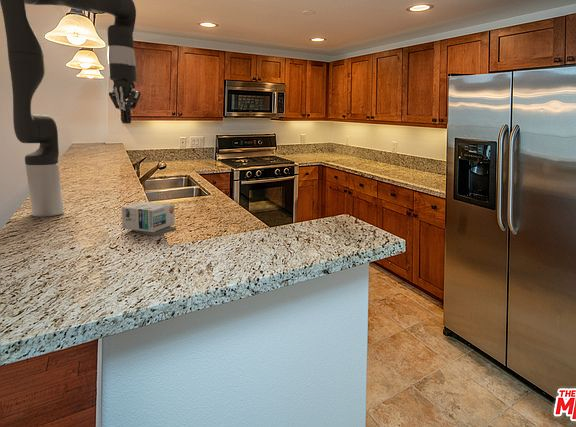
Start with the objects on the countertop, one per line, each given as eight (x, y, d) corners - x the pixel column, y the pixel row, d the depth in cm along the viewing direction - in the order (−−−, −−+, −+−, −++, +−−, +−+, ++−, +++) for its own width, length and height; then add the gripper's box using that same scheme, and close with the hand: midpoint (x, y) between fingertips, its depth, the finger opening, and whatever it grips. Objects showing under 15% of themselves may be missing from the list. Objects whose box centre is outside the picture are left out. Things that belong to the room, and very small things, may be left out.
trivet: (131, 230, 108) (131, 228, 108) (154, 225, 115) (154, 222, 114) (153, 236, 103) (153, 233, 103) (176, 230, 109) (176, 227, 109)
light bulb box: (121, 229, 106) (153, 233, 103) (120, 206, 105) (152, 210, 101) (146, 221, 116) (175, 225, 113) (145, 200, 115) (175, 203, 111)
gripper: (97, 63, 110) (102, 122, 114) (124, 60, 104) (129, 123, 107) (120, 67, 117) (124, 123, 120) (147, 64, 110) (150, 124, 114)
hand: (126, 123), depth 114 cm, fingers closed
